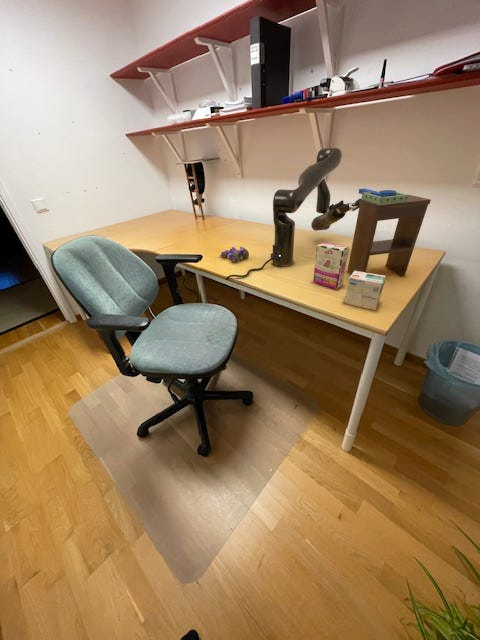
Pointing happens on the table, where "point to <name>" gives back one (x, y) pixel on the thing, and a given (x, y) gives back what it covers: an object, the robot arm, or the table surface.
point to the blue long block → (382, 194)
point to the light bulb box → (364, 289)
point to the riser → (397, 247)
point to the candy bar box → (330, 264)
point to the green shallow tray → (384, 198)
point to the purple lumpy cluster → (235, 254)
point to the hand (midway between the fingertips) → (352, 201)
